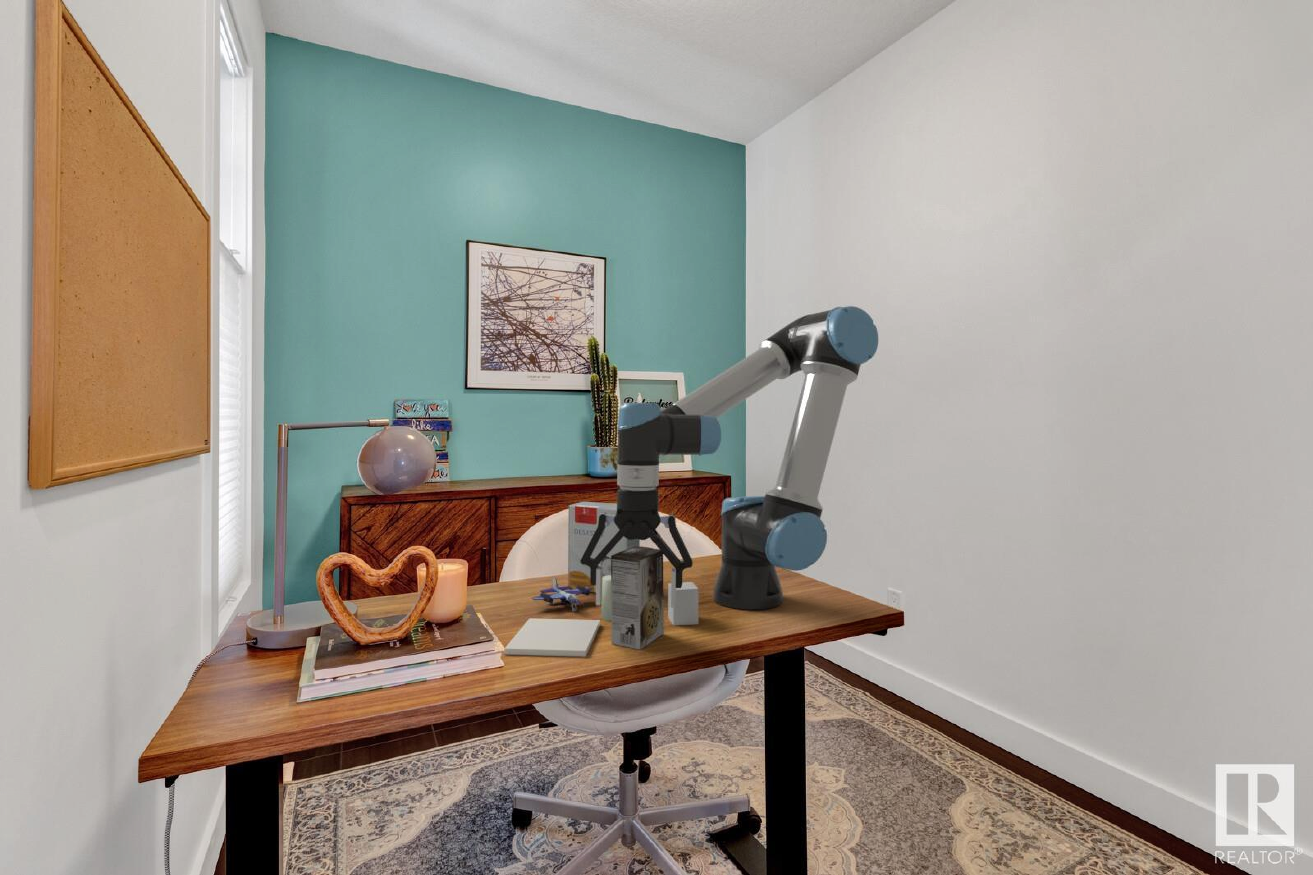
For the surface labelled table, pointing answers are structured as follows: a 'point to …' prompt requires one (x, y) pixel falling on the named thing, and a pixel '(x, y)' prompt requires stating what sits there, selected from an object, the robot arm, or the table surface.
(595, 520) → the hard drive box
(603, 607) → the sage cylinder
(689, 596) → the grey block
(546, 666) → the table surface
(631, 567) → the grey product box
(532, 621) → the tile
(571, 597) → the toy airplane
